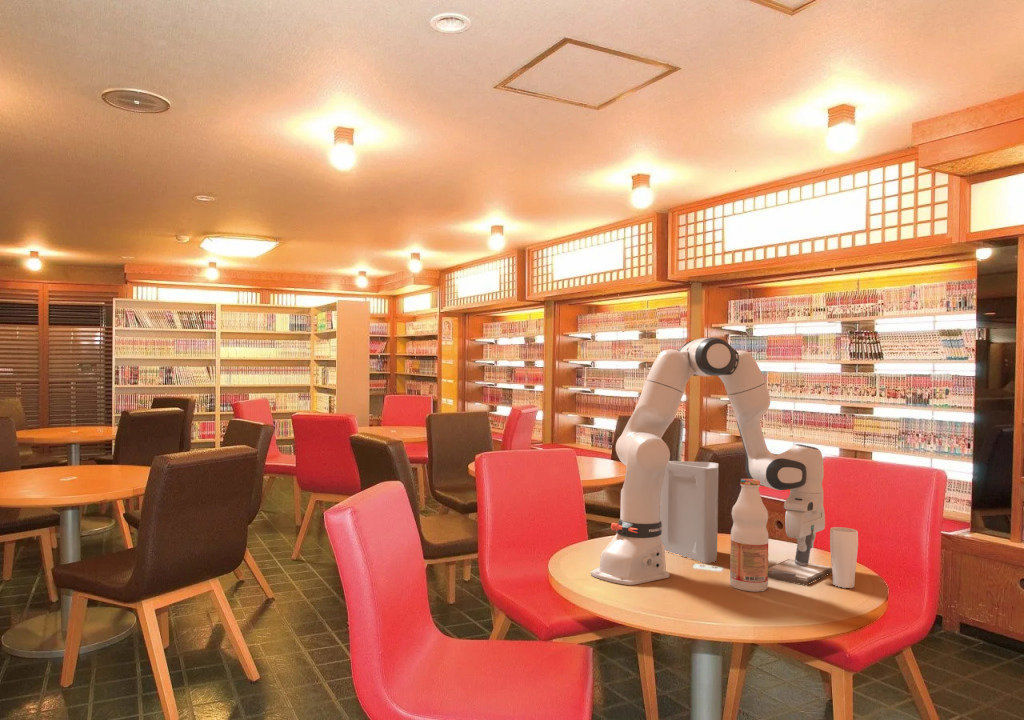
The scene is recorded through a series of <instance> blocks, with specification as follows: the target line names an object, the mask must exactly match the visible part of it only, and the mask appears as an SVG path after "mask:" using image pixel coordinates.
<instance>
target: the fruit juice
mask: <svg viewBox="0 0 1024 720" xmlns="http://www.w3.org/2000/svg"><path fill="white" fill-rule="evenodd" d="M739 482H740V486H741V489H740V492H739V494H738V497H737V500H736V502H735V504H734V505H733V506H732V509H731V519H732V522H733V523H732V526H731V529H730V556H729V557H730V560H729V561H730V563H729V565H730V568H729V569H730V571H729V573H730V574H729V578H730V579H729V581H730V585H731V587H733V588H734V589H737V590H740V591H744V592H757V593H758V592H765V591H766V590H767V589H768V586H769V577H768V567H769V532H768V528H767V523H768V519H769V512H768V509H767V507H766V506H765V504H764V503H763V499H762V497H761V496H762V495H761V492H760V489H759V488H760V487H761V486H760V481H759V480H755V479H749V478H741V479H740V481H739Z"/></svg>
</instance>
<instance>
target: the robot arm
mask: <svg viewBox="0 0 1024 720" xmlns="http://www.w3.org/2000/svg"><path fill="white" fill-rule="evenodd" d="M646 376H647V377H646V379H645V382H644V384H643V388H642V390H641V393H640V395H639V398H638V400H637V403H636V406H635V408H634V410H633V411H632V414H631V416H630V417H629V419H628V421H627V423H626V425H625V427H624V429H623V431H622V433H621V435H620V436H619V437H618V438H617V440H616V443H615V452H616V456H617V458H618V459H619V460H620V462H621V463H622V464H623V465H624V466H626V471H625V477H624V481H623V485H622V488H621V490H620V512H619V513H620V518H619V519H618V521H617V523H615V522H612V523H611V524H610V529H611V530H612V531H615V532H616V534H615V535H614V537H612V539H611V540H610V541H609V543H608V544H607V546H606V547H604V549H603V550H602V552H601V554H600V560H599V566H598V567H596V568H595V569H593V570H591V571H590V575H591V576H593V577H594V578H596V579H600V580H603V581H606V582H610V583H615V584H620V585H627V586H634V585H638V584H644V583H645V584H646V583H649V582H654V581H657V580H663V579H668V578H670V572H669V571H667V568H666V567H667V566H666V565H667V564H666V563H667V562H666V552H665V548H664V545H663V543H662V541H661V538H660V535H661V534H662V522H661V521H660V508H661V489H662V484H663V479H664V474H665V469H666V466H667V465H668V463H669V461H671V460H670V458H671V452H670V448H669V446H668V445H667V443H666V442H665V441H664V440H663V439H662V437H663V436H664V434H665V433H666V431H667V429H668V428H669V426H670V425H671V424H672V423H673V422H674V420H675V418H676V416H677V415H676V414H677V412H678V408H679V407H680V403H681V401H682V399H683V396H684V392H685V389H686V386H687V383H689V380H690V379H691V378H692V377H693V376H695V377H697V376H700V377H712V376H714V377H715V376H716V377H718V378H719V379H720V381H721V382H722V384H723V385H724V390H725V392H726V395H727V398H728V399H729V402H730V404H731V408H732V411H733V414H734V417H735V421H736V425H737V428H738V433H739V436H740V440H741V442H742V446H743V449H744V453H745V473H746V476H747V479H755V480H759V481H760V487H766V488H769V489H773V490H776V491H785V490H789V492H790V493H789V496H787V499H786V500H785V501H784V503H783V509H785V518H784V519H785V520H784V521H785V523H784V525H785V533H786V534H785V535H786V536H787V537H788V538H791V539H796V541H797V544H798V545H799V547H798V549H799V551H802V552H804V551H806V550H807V545H806V543H805V540H806V536H808V535H810V534H811V526H812V525H814V531H813V537H812V543H811V549H814V544H815V543H814V542H815V539H816V536H817V535H816V533H818V532H821V531H823V530H825V528H826V513H825V507H824V489H823V480H824V476H825V475H824V469H825V468H824V459H823V454H822V452H821V450H820V449H819V448H817V447H814V446H810V445H804V444H799V443H796V444H793V446H791V448H789V449H787V450H785V451H784V452H782V453H778V454H776V455H775V454H773V453H772V452H771V451H770V450H769V449H768V447H767V445H766V440H765V437H764V434H763V430H762V428H761V419H762V417H763V415H765V413H767V411H768V409H769V408H770V405H771V398H770V397H771V396H770V392H769V389H768V386H767V384H766V383H767V382H766V380H765V378H764V376H763V373H762V371H761V369H760V367H759V365H758V364H757V362H756V360H755V359H754V357H753V355H752V354H751V353H750V352H748V351H747V350H742V349H741V350H737V349H735V348H733V347H732V345H730V343H729V342H727V341H726V340H724V339H722V338H720V337H699V338H696V339H693V340H689V341H687V342H686V343H685V344H683V345H682V346H681V347H680V348H679V349H675V348H674V349H672V348H671V349H670V348H669V349H664V350H662V351H660V352H659V354H658V355H657V356H656V358H655V360H654V362H653V363H652V366H651V367H650V369H649V372H648V374H647V375H646Z"/></svg>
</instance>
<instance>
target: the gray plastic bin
mask: <svg viewBox="0 0 1024 720" xmlns="http://www.w3.org/2000/svg"><path fill="white" fill-rule="evenodd" d="M718 518H719V463H717V462H712V461H711V462H708V461H681V460H679V461H678V460H669V463H668V465H667V466H666V469H665V474H664V479H663V484H662V489H661V500H660V521H661V522H662V534H661V535H660V538H661V541H662V543H663V545H664V548H665V550H666V551H669V552H672V553H675V554H679V555H682V556H685V557H688V558H691V559H694V560H697V561H700V562H699V563H701V562H703V563H702V564H704V563H708V564H712V563H711V562H714V563H716V562H717V558H718V557H717V556H718V527H719V526H718V524H719V523H718ZM691 559H690V560H691ZM694 560H693V561H694ZM697 561H696V562H697ZM715 561H716V562H715Z"/></svg>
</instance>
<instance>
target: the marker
mask: <svg viewBox="0 0 1024 720" xmlns="http://www.w3.org/2000/svg"><path fill="white" fill-rule="evenodd" d="M813 531H814V525H812V526H811V534H810V535H808V536H806V540H805V543H806V545H807V550H806V551H804V552H802V551H799V549H798V547H799V545H798V543H797V545H796V546H797V547H796V552H795V558H794V560H795V564H797V565H800V566H808V563H810V561H809V560H810V554H811V550H812V548H811V543H812V537H813Z"/></svg>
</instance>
